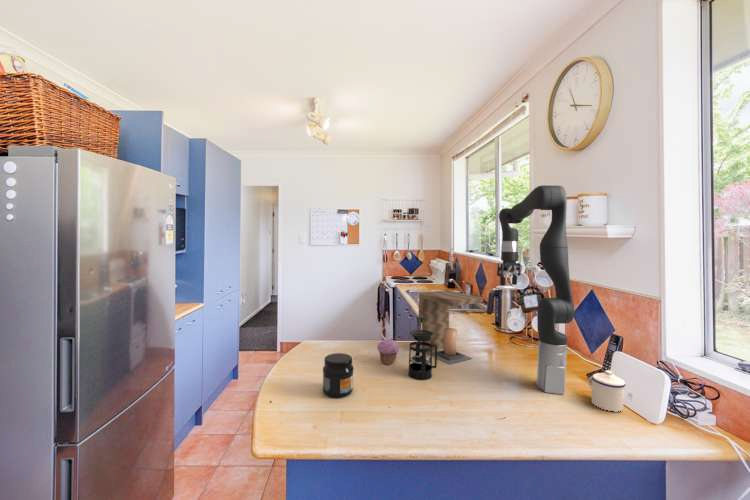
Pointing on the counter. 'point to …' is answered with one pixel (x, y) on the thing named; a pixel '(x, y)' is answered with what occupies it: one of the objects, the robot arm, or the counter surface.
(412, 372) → the french press
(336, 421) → the counter surface
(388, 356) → the cupcake
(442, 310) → the wooden side table
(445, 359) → the grey square plate
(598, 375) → the teacup with lid
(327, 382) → the supplement container
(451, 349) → the canister
